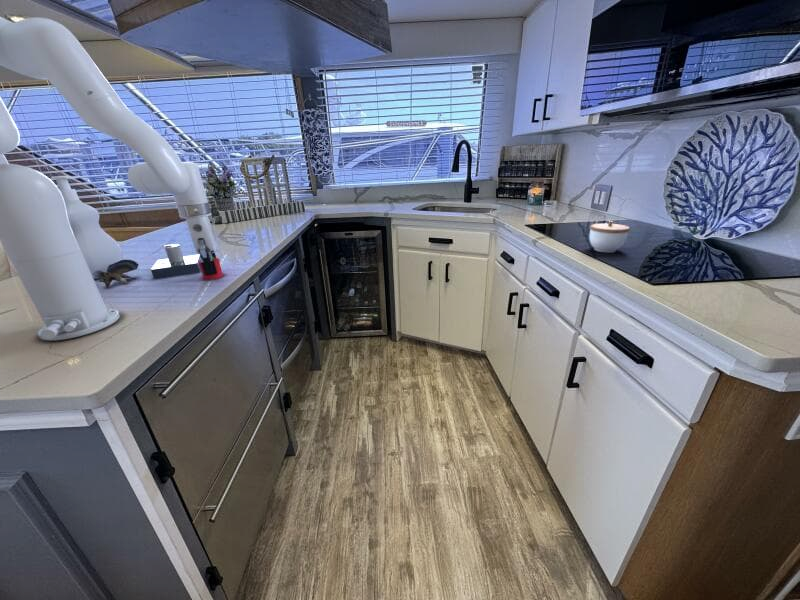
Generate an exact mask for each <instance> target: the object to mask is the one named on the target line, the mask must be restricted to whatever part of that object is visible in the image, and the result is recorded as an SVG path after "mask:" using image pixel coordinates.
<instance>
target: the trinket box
mask: <svg viewBox="0 0 800 600" xmlns="http://www.w3.org/2000/svg"><path fill="white" fill-rule="evenodd" d="M613 221H614V220H608V223H607V222H605V223H604V222H603V223H601V222H600V223H593V224H590V227H589V229H590V230H589V235H588V236H589V237H588V238H589V244H590V246H591V247H592V248H593V250H594V251H596V252H600V253H615V252H616V251H618V250H619V249H620V248H622V247H623V245H624V244H625V243H626V241H627V238H628V235H629V232H630V230H631V228H630V226H628V225H625V224H619V223H614V222H613Z"/></svg>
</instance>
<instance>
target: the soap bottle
mask: <svg viewBox="0 0 800 600" xmlns="http://www.w3.org/2000/svg"><path fill="white" fill-rule="evenodd" d="M50 179H51V180H53V179H54V180H55V181H56V183H57V187H58V189H59V190H60V192H61V194H62V196H63V199H64V202H65V206H66V211H67V215H68V219H69V223H70V226H71V229H72V231H73V234H74V236H75V239H76V241H77V243H78V246H79V248H80V250H81V252H82V254H83V256H84V259H85V261H86V263H87V265H88V268H89V270H90V272H91V275H92V277H93V279H94V280H95V279H96V280H97V279H98V278H97V277H95V276H94V275H93V272H95V271H97V270H100V271H103V272H107V269H108V266H109V265H111V264H114V263H116V262H118V261H120V260H124V256H123V255H124V254H123V249H122V248H121V246H120V245H119V244H118V241H117V240H116V239H114V238H113V237H112V236H111V235H109V234H108V233H107V232H105V231H104V229H103V228H102V227H101V225H100V223H99V222H100V213H99V211H98V209H97V208H96V207H95V208H94V207H93V206H91V205H89V204H86V203H84V202H83V201H82V200H81V199H80V198H79V195H78V193H77V191H76V188H71V185H70V183H69V180H76V179H77V178H76V177H74V176H71V175H55V176H51V178H50Z"/></svg>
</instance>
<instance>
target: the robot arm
mask: <svg viewBox="0 0 800 600" xmlns="http://www.w3.org/2000/svg"><path fill="white" fill-rule="evenodd" d="M0 66H1V67H3V68H5V69H8V70H11V71H12V72H15V73H17V74H20V75H23V76H26V77H29V78H32V79H35V80H40V81H41V80H42V81H43V80H48V81H49V82H50V83H51V85H52V86H53V87H54V88H55V90H57V92H58V93H59V94H60V96H61V97H62V98H63V99H64V100H65V101H66V102H67V104H68V105H69V106H70V107H71V109H72V110H73V111H74V112H75V114H76V115H77V116H78V117H79V118H80V120H82V122H83V123H84V124H86V125H87V126H88V127H90V128H92V129H93V130H96V131H98V132H100V133H102V134H105V135H107V136H109V137H111V138H113V139H115V140H117V141H119V142H121V143H122V144H124V145H126V146H127V147H129V148H130V149H131V150H133V151H134V152H135V154H138V156H139V157H140V158H141V160H143V161H144V162H137V163H134V164H132V166H130V168H129V169H128V171H127V175H126V177H127V181H128V183H129V185H130V186H131V187H132V188H133V189H134V190H135V191H137V192H139V193H142V194H144V195H150V196H163V195H168V196H169V195H170V196H171V195H172V196H173V199H174V202H175V205H176V209H177V212H178V215H179V218H180V219H182V220H183V219H184V220H185V221H186V225H187V229H188V231H189V235H190V237H191V241H192V244H193V248H194V250H195V252H196V254H197V255H200V259H201V265H202V268H203V271H204V275H205V276H209V275H215V274H217V269H216V266H215V262H214V260H213V259H212V256H213V257H214V258H217V255H216V252H217V250H218V244H217V241H216V237H215V235H214V231H213V228H212V224H211V221H210V218H209V216H212V212H211V208H210V204H209V200H208V196H207V194H206V190H205V189H206V188H205V186H204V183H203V179H202V175H201V171H200V169H199V166H198V164H196V163H195V162H192V161H182V159H181V158H180V157H179V155H178V154H177V152H176V151H175V150H174V148H173V146H172V145H171V144H170V143H169V142H168V141H167V140H166V138H164V137H163V136H162V135H161V134H160V133H159V132H158V131H157V130H155V128H153V127H151V125H149V124H148V123H147V122H146V121H145V120H144V119H142V118H141V117H139V116H138V115H137V114H135V112H133V111H132V110H131V109H129V108H128V107H127V105H125V103H124V101H122V99H121V97H120V96H119V95H118V93H117V92H116V91H115V89H114V88H113V87H112V85H111V83H110V82H109V81H108V79H107V78H106V77H105V76H104V74H103V73H102V71H101V70H100V69H99V67H98V66H97V65H96V63H95V61H94V60H93V59H92V58H91V56H90V55H89V53H88V52H87V50H86V49H85V48H84V47H83V45H82V43H80V41H79V40H78V39H77V37H76V36H75V35H74V34H73V33H72V32H71V31H70V30H69V29H68V28H67V27H66V26H65V25H63V24H61V23H60V22H58V21H56V20H53V19H51V18H46V17H39V16H38V17H27V18H25V19H24V18H23V19H21V20H18V21H15V22H13V21H10V20H8V19H7V18H4V17H2V16H0ZM20 141H21V134H20V132H19V129H18V127H17V124H16V123H15V121H14V119H13V116H11V113H10V112H9V110H8V107H7V106H6V104H5V103H4V101H3V99H2V97H1V96H0V243H1V245H2V247H3V250H4V251H5V254H6V255H7V257H8V259H9V261H10V262H11V264H12V266H13V268H14V270H15V271H16V273H17V275H18V277H19V279H20V281H21V283H22V284H23V286H24V288H25V290H26V292H27V294H28V295H29V297H30V299H31V301H32V303H33V305H34V307H35V308H36V311H37V312H38V314H39V316H40V318H41V320H42V321H43V323H44V325H43V326H42V327H41V328H40V329H38V331H37V336H38V338H39V339H40V340H42V341H49V342H50V341H51V342H53V341H54V342H55V341H63V340H70V339H73V338H79V337H83V336H86V335H89V334H93V333H95V332H98V331H101V330H103V329H106V328H107V327H109V326H111V325H113V324H115V323H116V322H117V321H118V320H119V319H120V316H121V315H120V312H119V311H118V310H116V309H113V308H107V306H106V304H105V302H104V299H103V297H102V295H101V293H100V291H99V288H98V286H97V284H96V281H95V279H93V277H92V275H91V272H90V270H89V268H88V265H87V263H86V261H85V259H84V256H83V254H82V252H81V250H80V248H79V246H78V243H77V241H76V239H75V236H74V234H73V231H72V229H71V226H70V223H69V219H68V215H67V211H66V206H65V202H64V199H63V196H62V194H61V192H60V188H59V186H58V185H56V184H55V182H53V179H51V178H49V177H48V176H46V175H45V174H44V173H42V172H41V171H39V170H37V169H34V168H32V167H28V166H25V165H21V164H16V163H9V161H8V160H7V157H6V156H5V154H9V153H10V152H12V151H14V150H16V149H17V147H18V146H19V145H20V143H21V142H20Z"/></svg>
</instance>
